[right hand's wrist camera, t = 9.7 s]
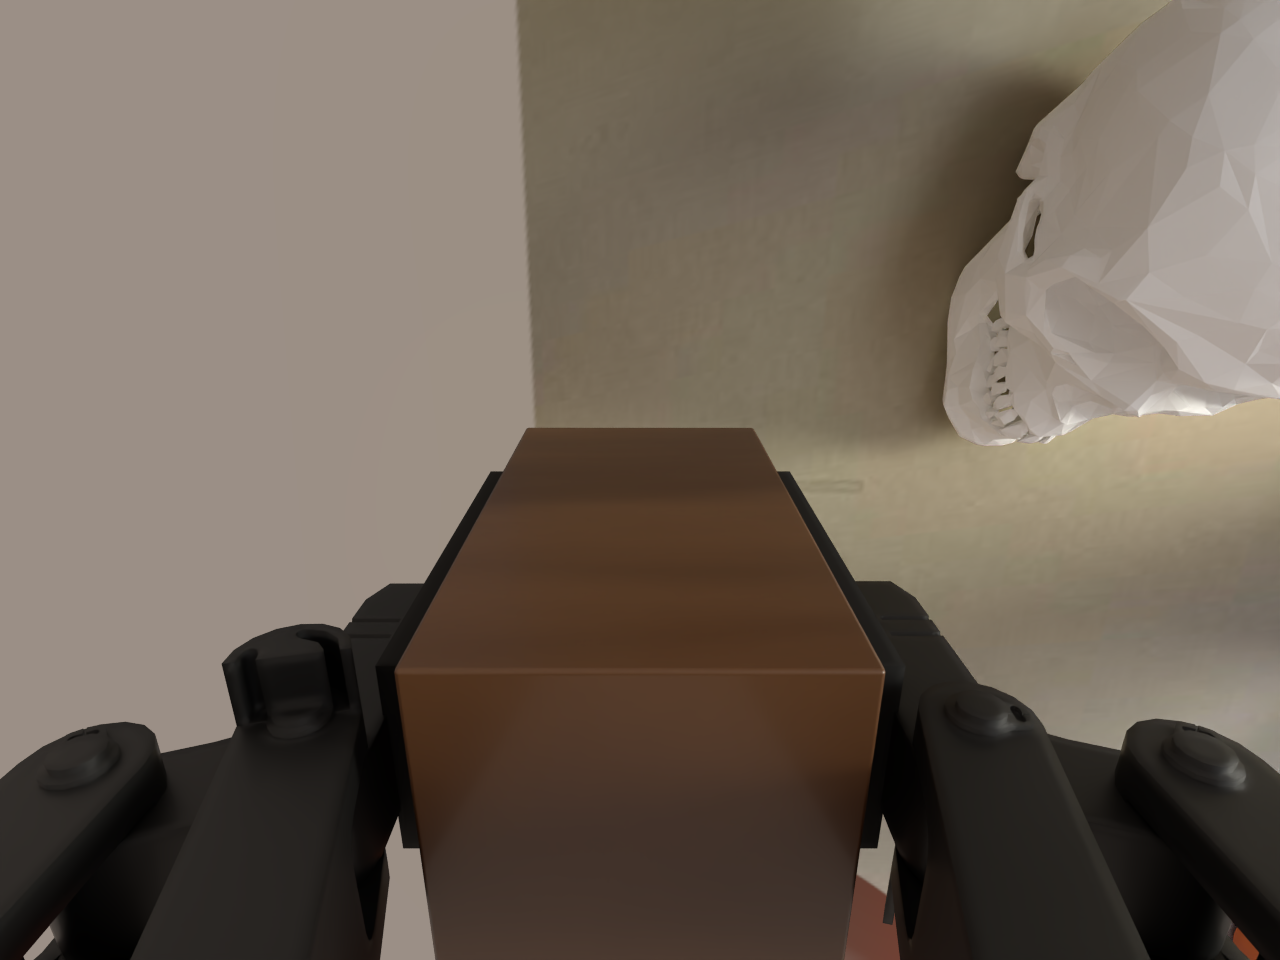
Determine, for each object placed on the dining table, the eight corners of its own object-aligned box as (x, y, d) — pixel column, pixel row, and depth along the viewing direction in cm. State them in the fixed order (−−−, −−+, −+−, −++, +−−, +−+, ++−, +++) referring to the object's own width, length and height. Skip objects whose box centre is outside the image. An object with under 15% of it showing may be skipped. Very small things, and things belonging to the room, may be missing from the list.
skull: (857, 394, 38) (1009, 509, 23) (1091, -54, 31) (1520, -293, 16) (1059, 477, 40) (1315, 631, 26) (1321, 76, 33) (1882, -32, 19)
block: (526, 426, 14) (391, 671, 6) (753, 427, 14) (888, 669, 6) (537, 624, 15) (439, 1006, 8) (742, 624, 15) (839, 1007, 8)
